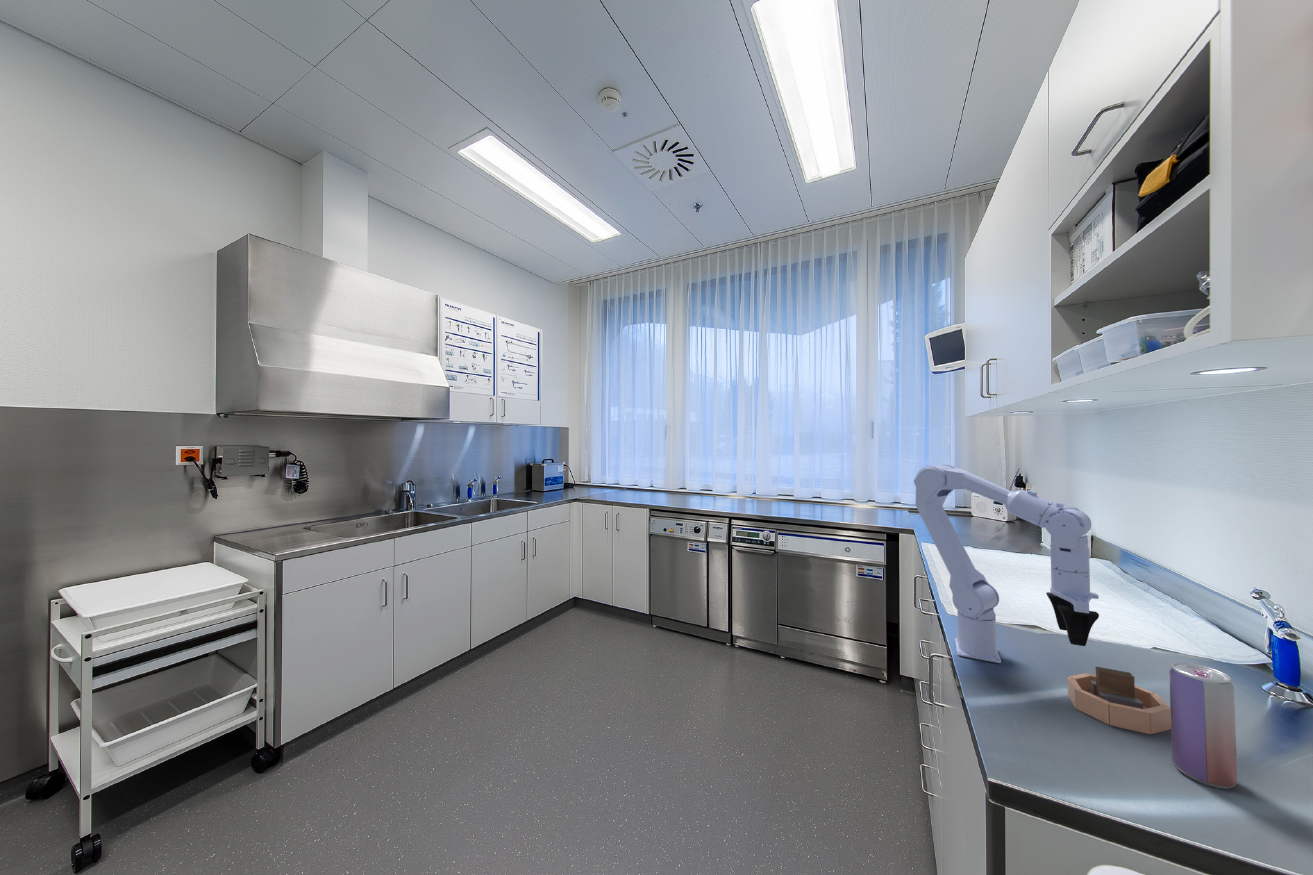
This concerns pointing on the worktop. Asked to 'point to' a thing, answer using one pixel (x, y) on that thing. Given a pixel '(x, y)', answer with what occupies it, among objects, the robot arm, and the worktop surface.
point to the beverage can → (1203, 724)
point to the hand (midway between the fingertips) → (1071, 637)
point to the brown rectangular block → (1114, 682)
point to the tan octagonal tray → (1120, 706)
